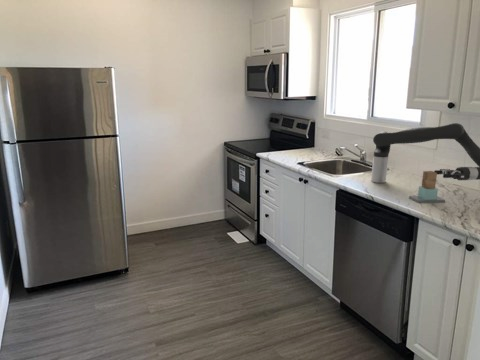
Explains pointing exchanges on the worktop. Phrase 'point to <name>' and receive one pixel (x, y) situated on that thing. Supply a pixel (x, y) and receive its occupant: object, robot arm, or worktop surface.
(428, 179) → the walnut brick
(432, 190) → the tower base
